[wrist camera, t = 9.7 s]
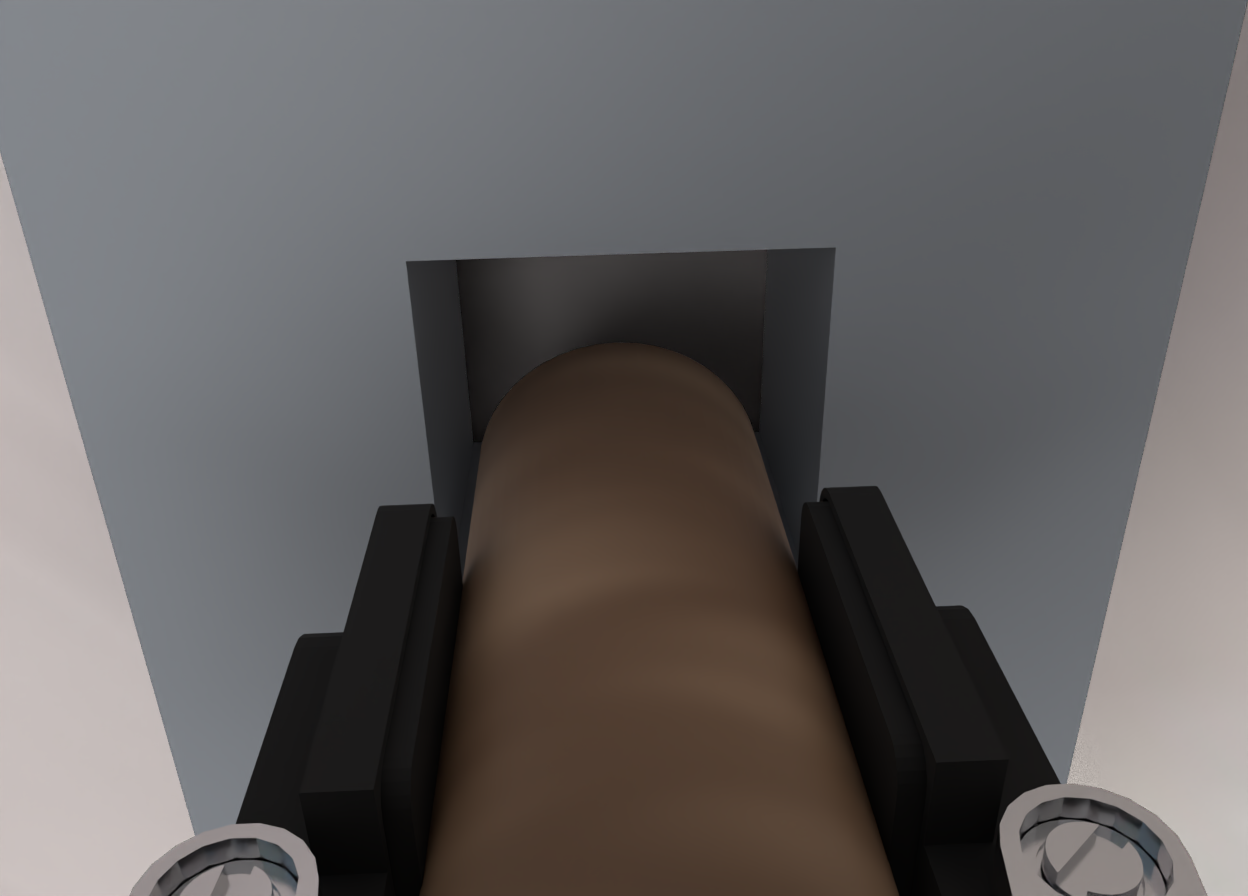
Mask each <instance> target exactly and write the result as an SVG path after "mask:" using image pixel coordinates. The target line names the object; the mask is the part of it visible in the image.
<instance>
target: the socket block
mask: <svg viewBox="0 0 1248 896" xmlns="http://www.w3.org/2000/svg"><path fill="white" fill-rule="evenodd" d="M1247 2H1248V0H0V153H1V156H2V160H3V163H4V167H5V170H6V174H7V177H8V181H9V184H10V188H11V191H12V195H13V198H14V202H15V205H16V209H17V212H18V216H19V219H20V223H21V226H22V230H23V233H24V237H25V240H26V244H27V247H28V251H29V254H30V258H31V261H32V265H33V268H34V272H35V275H36V279H37V282H38V286H39V289H40V293H41V296H42V300H43V303H44V307H45V310H46V314H47V317H48V321H49V325H50V328H51V332H52V335H53V339H54V342H55V346H56V349H57V353H58V356H59V360H60V363H61V367H62V370H63V374H64V377H65V381H66V384H67V388H68V391H69V395H70V398H71V402H72V405H73V409H74V412H75V416H76V419H77V423H78V426H79V430H80V433H81V437H82V440H83V444H84V447H85V451H86V454H87V458H88V461H89V465H90V468H91V472H92V475H93V479H94V482H95V486H96V489H97V493H98V496H99V500H100V503H101V507H102V510H103V514H104V517H105V521H106V524H107V528H108V531H109V535H110V539H111V542H112V546H113V549H114V553H115V556H116V560H117V563H118V567H119V570H120V574H121V577H122V581H123V584H124V588H125V591H126V595H127V598H128V602H129V605H130V609H131V612H132V616H133V619H134V623H135V626H136V630H137V633H138V637H139V640H140V644H141V647H142V651H143V654H144V658H145V661H146V665H147V668H148V672H149V675H150V679H151V682H152V686H153V689H154V693H155V696H156V700H157V703H158V707H159V710H160V714H161V717H162V721H163V724H164V728H165V731H166V735H167V738H168V742H169V745H170V749H171V752H172V756H173V760H174V763H175V767H176V770H177V774H178V777H179V781H180V784H181V788H182V791H183V795H184V798H185V802H186V805H187V809H188V812H189V816H190V819H191V823H192V826H193V830H194V833H195V836H196V835H198V834H200V833H202V832H205V831H209V830H213V829H216V828H220V827H224V826H228V825H231V824H236V821H237V818H238V815H239V812H240V809H241V806H242V803H243V800H244V797H245V794H246V791H247V788H248V785H249V782H250V779H251V776H252V773H253V770H254V767H255V764H256V761H257V758H258V755H259V752H260V749H261V746H262V743H263V740H264V737H265V734H266V731H267V728H268V725H269V722H270V719H271V716H272V713H273V710H274V707H275V704H276V701H277V698H278V695H279V692H280V689H281V686H282V683H283V680H284V677H285V674H286V671H287V668H288V665H289V662H290V659H291V656H292V653H293V650H294V647H295V645H296V643H297V640H298V638H299V637H300V636H302V635H303V634H313V633H336V632H344V628H345V625H346V621H347V617H348V614H349V610H350V607H351V603H352V599H353V596H354V592H355V589H356V585H357V581H358V578H359V574H360V571H361V567H362V563H363V560H364V556H365V553H366V549H367V545H368V542H369V538H370V535H371V531H372V527H373V524H374V520H375V517H376V513H377V510H378V508H379V506H383V505H408V504H432V503H433V504H434V506H435V509H436V513H437V517H452V516H454V518H455V521H456V526H457V534H458V544H459V553H460V562H461V572H462V581H463V575H464V568H465V561H466V553H467V546H468V539H469V532H470V524H471V517H472V510H473V503H474V495H475V488H476V481H477V473H478V466H479V459H480V452H481V444H482V442H473V434H472V423H471V413H470V402H469V392H468V381H467V371H466V360H465V350H464V339H463V329H462V318H461V308H460V297H459V287H458V276H457V266H456V260H460V259H491V258H522V257H553V256H584V255H615V254H646V253H677V252H708V251H739V250H767V270H766V293H765V316H764V339H763V362H762V385H761V408H760V431H759V432H754V434H755V437H756V440H757V444H758V447H759V450H760V453H761V456H762V460H763V463H764V466H765V469H766V472H767V475H768V479H769V482H770V485H771V488H772V491H773V495H774V498H775V501H776V504H777V507H778V510H779V514H780V517H781V520H782V523H783V526H784V530H785V533H786V536H787V539H788V542H789V546H790V549H791V552H792V555H793V558H794V561H795V565H796V568H797V571H798V557H799V542H800V526H801V513H802V507H803V504H804V503H805V502H819V500H820V495H821V491H822V490H823V488H830V487H855V486H878V488H879V489H880V491H881V493H882V495H883V497H884V499H885V501H886V503H887V505H888V507H889V509H890V511H891V513H892V516H893V518H894V520H895V522H896V524H897V526H898V528H899V530H900V532H901V534H902V537H903V539H904V541H905V543H906V545H907V547H908V549H909V551H910V553H911V555H912V558H913V560H914V562H915V564H916V566H917V568H918V570H919V572H920V574H921V576H922V578H923V581H924V583H925V585H926V587H927V589H928V591H929V593H930V595H931V597H932V599H933V602H934V604H935V606H956V605H962V606H964V607H966V608H968V609H969V610H970V612H971V613H972V615H973V616H974V618H975V619H976V621H977V623H978V625H979V627H980V629H981V631H982V633H983V635H984V637H985V639H986V641H987V642H988V644H989V646H990V648H991V650H992V652H993V654H994V656H995V658H996V660H997V662H998V664H999V666H1000V667H1001V669H1002V671H1003V673H1004V675H1005V677H1006V679H1007V681H1008V683H1009V685H1010V687H1011V689H1012V691H1013V693H1014V694H1015V696H1016V698H1017V700H1018V702H1019V704H1020V706H1021V708H1022V710H1023V712H1024V714H1025V716H1026V718H1027V719H1028V721H1029V723H1030V725H1031V727H1032V729H1033V731H1034V733H1035V735H1036V737H1037V739H1038V741H1039V743H1040V744H1041V746H1042V748H1043V750H1044V752H1045V754H1046V756H1047V758H1048V760H1049V762H1050V764H1051V766H1052V768H1053V769H1054V771H1055V773H1056V775H1057V777H1058V779H1059V781H1060V783H1061V784H1067V779H1068V775H1069V771H1070V766H1071V762H1072V758H1073V753H1074V749H1075V745H1076V740H1077V736H1078V732H1079V727H1080V723H1081V719H1082V714H1083V710H1084V706H1085V701H1086V697H1087V693H1088V688H1089V684H1090V680H1091V676H1092V671H1093V667H1094V663H1095V658H1096V654H1097V650H1098V645H1099V641H1100V637H1101V632H1102V628H1103V624H1104V619H1105V615H1106V611H1107V606H1108V602H1109V598H1110V593H1111V589H1112V585H1113V580H1114V576H1115V572H1116V568H1117V563H1118V559H1119V555H1120V550H1121V546H1122V542H1123V537H1124V533H1125V529H1126V524H1127V520H1128V516H1129V511H1130V507H1131V503H1132V498H1133V494H1134V490H1135V485H1136V481H1137V477H1138V472H1139V468H1140V464H1141V460H1142V455H1143V451H1144V447H1145V442H1146V438H1147V434H1148V429H1149V425H1150V421H1151V416H1152V412H1153V408H1154V403H1155V399H1156V395H1157V390H1158V386H1159V382H1160V377H1161V373H1162V369H1163V364H1164V360H1165V356H1166V352H1167V347H1168V343H1169V339H1170V334H1171V330H1172V326H1173V321H1174V317H1175V313H1176V308H1177V304H1178V300H1179V295H1180V291H1181V287H1182V282H1183V278H1184V274H1185V269H1186V265H1187V261H1188V256H1189V252H1190V248H1191V244H1192V239H1193V235H1194V231H1195V226H1196V222H1197V218H1198V213H1199V209H1200V205H1201V200H1202V196H1203V192H1204V187H1205V183H1206V179H1207V174H1208V170H1209V166H1210V161H1211V157H1212V153H1213V148H1214V144H1215V140H1216V136H1217V131H1218V127H1219V123H1220V118H1221V114H1222V110H1223V105H1224V101H1225V97H1226V92H1227V88H1228V84H1229V79H1230V75H1231V71H1232V66H1233V62H1234V58H1235V53H1236V49H1237V45H1238V40H1239V36H1240V32H1241V28H1242V23H1243V19H1244V15H1245V10H1246V6H1247Z"/></svg>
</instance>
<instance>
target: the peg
mask: <svg viewBox="0 0 1248 896" xmlns="http://www.w3.org/2000/svg"><path fill="white" fill-rule="evenodd" d="M419 896H899V893H898V890H897V887H896V883H895V880H894V877H893V874H892V871H891V867H890V865H889V862H888V859H887V855H886V852H885V849H884V846H883V843H882V839H881V836H880V833H879V830H878V827H877V824H876V820H875V817H874V814H873V811H872V808H871V804H870V801H869V798H868V795H867V792H866V788H865V785H864V782H863V779H862V776H861V773H860V769H859V766H858V763H857V760H856V757H855V753H854V750H853V747H852V744H851V741H850V737H849V734H848V731H847V728H846V725H845V721H844V718H843V715H842V712H841V709H840V706H839V702H838V699H837V696H836V693H835V690H834V686H833V683H832V680H831V677H830V674H829V670H828V667H827V664H826V661H825V658H824V654H823V651H822V648H821V645H820V642H819V639H818V635H817V632H816V629H815V626H814V623H813V619H812V616H811V613H810V610H809V607H808V603H807V600H806V597H805V594H804V591H803V587H802V584H801V581H800V578H799V575H798V571H797V568H796V565H795V561H794V558H793V555H792V552H791V549H790V546H789V542H788V539H787V536H786V533H785V530H784V526H783V523H782V520H781V517H780V514H779V510H778V507H777V504H776V501H775V498H774V495H773V491H772V488H771V485H770V482H769V479H768V475H767V472H766V469H765V466H764V463H763V460H762V456H761V453H760V450H759V447H758V444H757V440H756V437H755V434H754V431H753V428H752V425H751V422H750V420H749V417H748V415H747V414H746V412H745V410H744V408H743V406H742V404H741V403H740V401H739V400H738V399H737V397H736V396H735V394H734V393H733V392H732V390H731V389H730V388H729V387H728V386H727V385H726V384H725V383H724V382H723V381H722V380H721V379H720V378H719V377H718V376H716V375H715V374H714V373H712V372H711V371H710V370H709V369H707V368H706V367H705V366H703V365H701V364H699V363H698V362H696V361H694V360H692V359H691V358H689V357H686V356H684V355H682V354H679V353H677V352H674V351H672V350H668V349H665V348H661V347H657V346H653V345H646V344H640V343H620V342H615V343H605V344H596V345H591V346H587V347H582V348H578V349H575V350H572V351H569V352H566V353H564V354H561V355H559V356H557V357H555V358H553V359H551V360H549V361H547V362H545V363H543V364H541V365H540V366H538V367H537V368H535V369H534V370H532V371H531V372H529V373H528V374H527V375H525V376H524V377H523V378H522V379H521V380H520V381H519V382H518V383H516V384H515V385H514V386H513V387H512V389H511V390H510V391H509V392H508V393H507V394H506V395H505V397H504V398H503V399H502V400H501V402H500V404H499V405H498V407H497V408H496V410H495V411H494V413H493V415H492V417H491V419H490V421H489V423H488V426H487V428H486V431H485V434H484V438H483V441H482V444H481V452H480V459H479V466H478V473H477V481H476V488H475V495H474V503H473V510H472V517H471V524H470V532H469V539H468V546H467V553H466V561H465V568H464V575H463V589H462V596H461V603H460V611H459V618H458V625H457V633H456V640H455V648H454V655H453V662H452V670H451V677H450V684H449V692H448V699H447V706H446V714H445V721H444V728H443V736H442V743H441V750H440V758H439V765H438V772H437V780H436V787H435V794H434V802H433V809H432V816H431V824H430V831H429V838H428V846H427V853H426V860H425V868H424V875H423V882H422V887H421V890H420V895H419Z"/></svg>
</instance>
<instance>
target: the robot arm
mask: <svg viewBox="0 0 1248 896" xmlns="http://www.w3.org/2000/svg"><path fill="white" fill-rule="evenodd" d="M798 575H799V578H800V581H801V584H802V587H803V591H804V594H805V597H806V600H807V603H808V607H809V610H810V613H811V616H812V619H813V623H814V626H815V629H816V632H817V635H818V639H819V642H820V645H821V648H822V651H823V654H824V658H825V661H826V664H827V667H828V670H829V674H830V677H831V680H832V683H833V686H834V690H835V693H836V696H837V699H838V702H839V706H840V709H841V712H842V715H843V718H844V721H845V725H846V728H847V731H848V734H849V737H850V741H851V744H852V747H853V750H854V753H855V757H856V760H857V763H858V766H859V769H860V773H861V776H862V779H863V782H864V785H865V788H866V792H867V795H868V798H869V801H870V804H871V808H872V811H873V814H874V817H875V820H876V824H877V827H878V830H879V833H880V836H881V839H882V843H883V846H884V849H885V852H886V855H887V859H888V862H889V865H890V867H891V871H892V874H893V877H894V880H895V883H896V887H897V890H898V893H899V896H1207V893H1206V891H1205V889H1204V886H1203V884H1202V882H1201V879H1200V877H1199V874H1198V872H1197V870H1196V867H1195V865H1194V863H1193V860H1192V858H1191V856H1190V855H1189V853H1188V851H1187V850H1186V848H1185V847H1184V845H1183V843H1182V842H1181V840H1180V838H1179V837H1178V835H1177V834H1176V833H1175V832H1174V831H1173V830H1171V829H1170V828H1169V827H1168V826H1167V825H1166V824H1165V823H1164V822H1163V821H1162V820H1161V819H1160V818H1159V817H1158V816H1157V815H1155V814H1154V813H1152V812H1150V811H1149V810H1147V809H1146V808H1144V807H1142V806H1141V805H1139V804H1137V803H1136V802H1134V801H1132V800H1131V799H1129V798H1126V797H1123V796H1121V795H1118V794H1115V793H1113V792H1110V791H1107V790H1105V789H1102V788H1097V787H1091V786H1085V785H1078V784H1061V783H1060V781H1059V779H1058V777H1057V775H1056V773H1055V771H1054V769H1053V768H1052V766H1051V764H1050V762H1049V760H1048V758H1047V756H1046V754H1045V752H1044V750H1043V748H1042V746H1041V744H1040V743H1039V741H1038V739H1037V737H1036V735H1035V733H1034V731H1033V729H1032V727H1031V725H1030V723H1029V721H1028V719H1027V718H1026V716H1025V714H1024V712H1023V710H1022V708H1021V706H1020V704H1019V702H1018V700H1017V698H1016V696H1015V694H1014V693H1013V691H1012V689H1011V687H1010V685H1009V683H1008V681H1007V679H1006V677H1005V675H1004V673H1003V671H1002V669H1001V667H1000V666H999V664H998V662H997V660H996V658H995V656H994V654H993V652H992V650H991V648H990V646H989V644H988V642H987V641H986V639H985V637H984V635H983V633H982V631H981V629H980V627H979V625H978V623H977V621H976V619H975V618H974V616H973V615H972V613H971V612H970V610H969V609H968V608H966V607H964V606H962V605H956V606H935V604H934V602H933V599H932V597H931V595H930V593H929V591H928V589H927V587H926V585H925V583H924V581H923V578H922V576H921V574H920V572H919V570H918V568H917V566H916V564H915V562H914V560H913V558H912V555H911V553H910V551H909V549H908V547H907V545H906V543H905V541H904V539H903V537H902V534H901V532H900V530H899V528H898V526H897V524H896V522H895V520H894V518H893V516H892V513H891V511H890V509H889V507H888V505H887V503H886V501H885V499H884V497H883V495H882V493H881V491H880V489H879V488H878V486H855V487H830V488H823V490H822V491H821V495H820V500H819V502H805V503H804V504H803V507H802V513H801V526H800V542H799V557H798ZM462 589H463V581H462V572H461V562H460V553H459V544H458V534H457V526H456V521H455V518H454V516H452V517H437V513H436V509H435V506H434V504H433V503H432V504H408V505H383V506H379V508H378V510H377V513H376V517H375V520H374V524H373V527H372V531H371V535H370V538H369V542H368V545H367V549H366V553H365V556H364V560H363V563H362V567H361V571H360V574H359V578H358V581H357V585H356V589H355V592H354V596H353V599H352V603H351V607H350V610H349V614H348V617H347V621H346V625H345V628H344V632H336V633H313V634H303V635H302V636H300V637H299V638H298V640H297V643H296V645H295V647H294V650H293V653H292V656H291V659H290V662H289V665H288V668H287V671H286V674H285V677H284V680H283V683H282V686H281V689H280V692H279V695H278V698H277V701H276V704H275V707H274V710H273V713H272V716H271V719H270V722H269V725H268V728H267V731H266V734H265V737H264V740H263V743H262V746H261V749H260V752H259V755H258V758H257V761H256V764H255V767H254V770H253V773H252V776H251V779H250V782H249V785H248V788H247V791H246V794H245V797H244V800H243V803H242V806H241V809H240V812H239V815H238V818H237V821H236V824H231V825H228V826H224V827H220V828H216V829H213V830H209V831H205V832H202V833H200V834H198V835H196V836H194V837H192V838H190V839H188V840H186V841H184V842H182V843H180V844H178V845H176V846H175V847H173V848H172V849H171V850H169V851H168V852H167V853H166V854H164V855H163V856H162V857H161V858H159V859H158V860H157V861H155V862H154V863H153V864H152V865H151V866H150V867H149V868H148V869H147V871H146V872H145V873H144V874H143V876H142V877H141V878H140V879H139V881H138V882H137V883H136V884H135V886H134V887H133V889H132V891H131V893H130V896H419V895H420V890H421V887H422V882H423V875H424V868H425V860H426V853H427V846H428V838H429V831H430V824H431V816H432V809H433V802H434V794H435V787H436V780H437V772H438V765H439V758H440V750H441V743H442V736H443V728H444V721H445V714H446V706H447V699H448V692H449V684H450V677H451V670H452V662H453V655H454V648H455V640H456V633H457V625H458V618H459V611H460V603H461V596H462Z"/></svg>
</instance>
